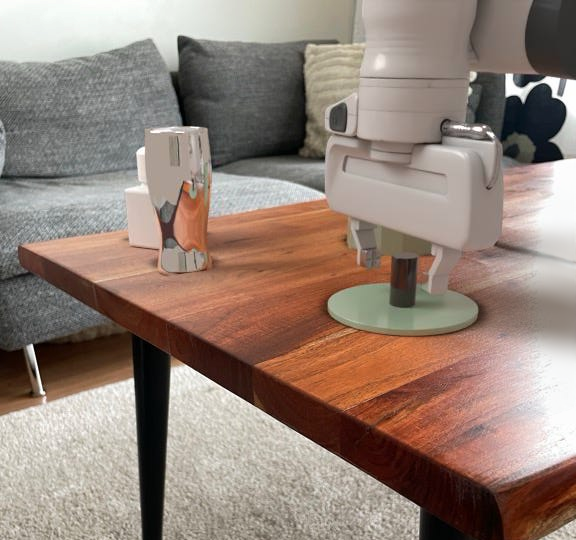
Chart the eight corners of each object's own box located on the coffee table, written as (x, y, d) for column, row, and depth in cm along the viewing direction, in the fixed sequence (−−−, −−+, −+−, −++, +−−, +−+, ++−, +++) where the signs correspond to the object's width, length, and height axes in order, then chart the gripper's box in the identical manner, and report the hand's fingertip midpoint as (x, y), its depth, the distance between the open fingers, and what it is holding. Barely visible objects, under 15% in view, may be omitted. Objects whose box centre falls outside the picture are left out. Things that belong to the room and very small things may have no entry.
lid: (412, 286, 75) (416, 232, 72) (509, 325, 64) (517, 262, 62) (300, 307, 69) (300, 248, 66) (386, 354, 58) (390, 285, 55)
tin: (406, 232, 98) (410, 160, 94) (471, 252, 88) (479, 172, 84) (328, 243, 92) (330, 167, 88) (388, 265, 82) (393, 181, 78)
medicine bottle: (161, 235, 97) (154, 141, 92) (206, 240, 94) (201, 144, 89) (128, 246, 91) (118, 147, 86) (175, 252, 88) (168, 150, 83)
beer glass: (206, 279, 77) (198, 132, 71) (144, 276, 78) (132, 131, 72) (223, 263, 84) (217, 126, 77) (165, 260, 85) (155, 125, 78)
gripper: (535, 124, 52) (509, 305, 58) (370, 108, 69) (363, 251, 74) (470, 127, 50) (450, 317, 55) (314, 110, 66) (311, 258, 71)
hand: (399, 279), depth 65 cm, fingers open, 8 cm apart
